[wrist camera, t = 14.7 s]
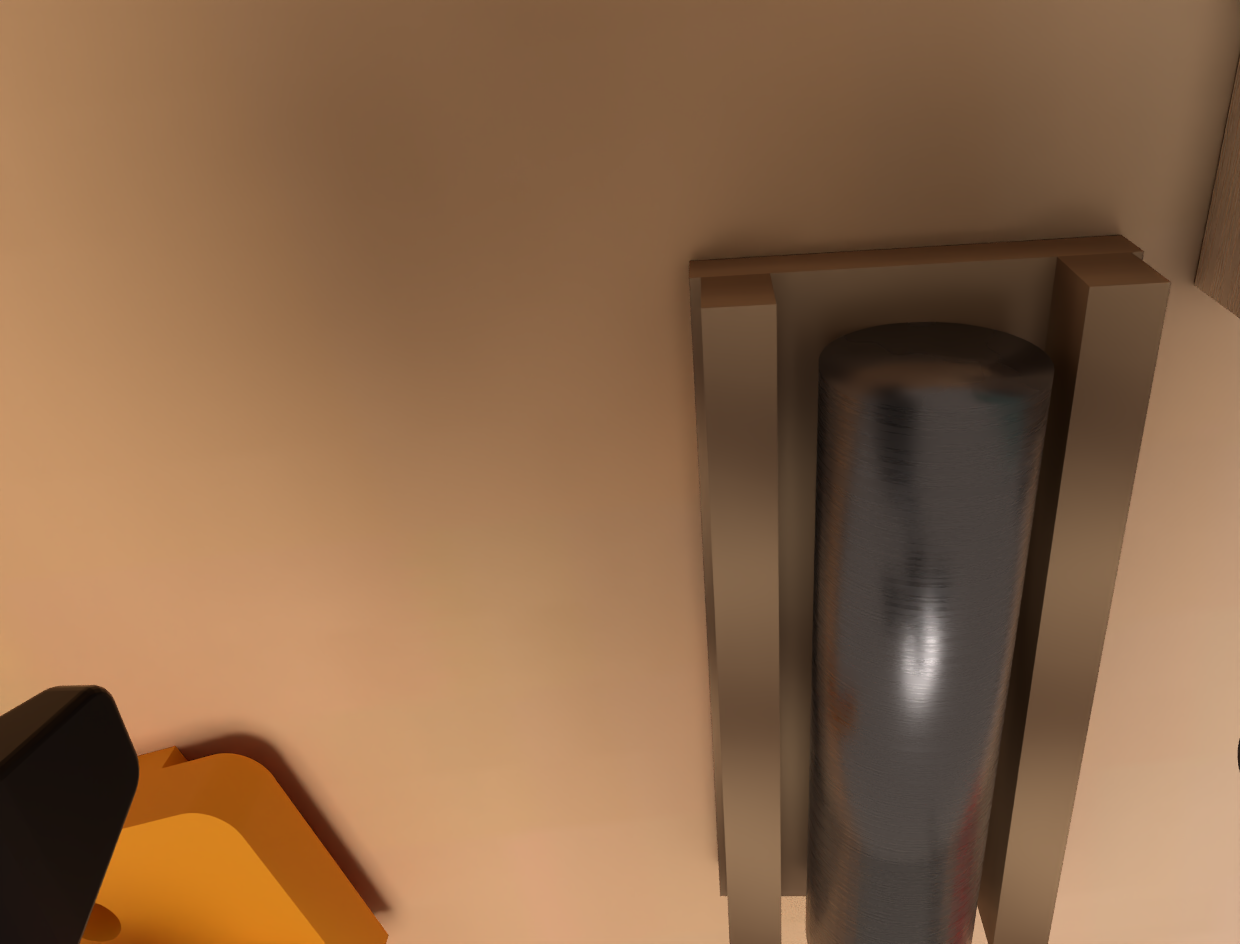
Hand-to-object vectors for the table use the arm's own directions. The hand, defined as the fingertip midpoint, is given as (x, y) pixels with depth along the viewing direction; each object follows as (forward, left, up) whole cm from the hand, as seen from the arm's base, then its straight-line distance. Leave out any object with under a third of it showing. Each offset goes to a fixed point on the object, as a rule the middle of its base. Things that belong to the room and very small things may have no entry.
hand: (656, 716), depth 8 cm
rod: (+8, +4, -11) cm, 14 cm away
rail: (+8, +4, -12) cm, 15 cm away
